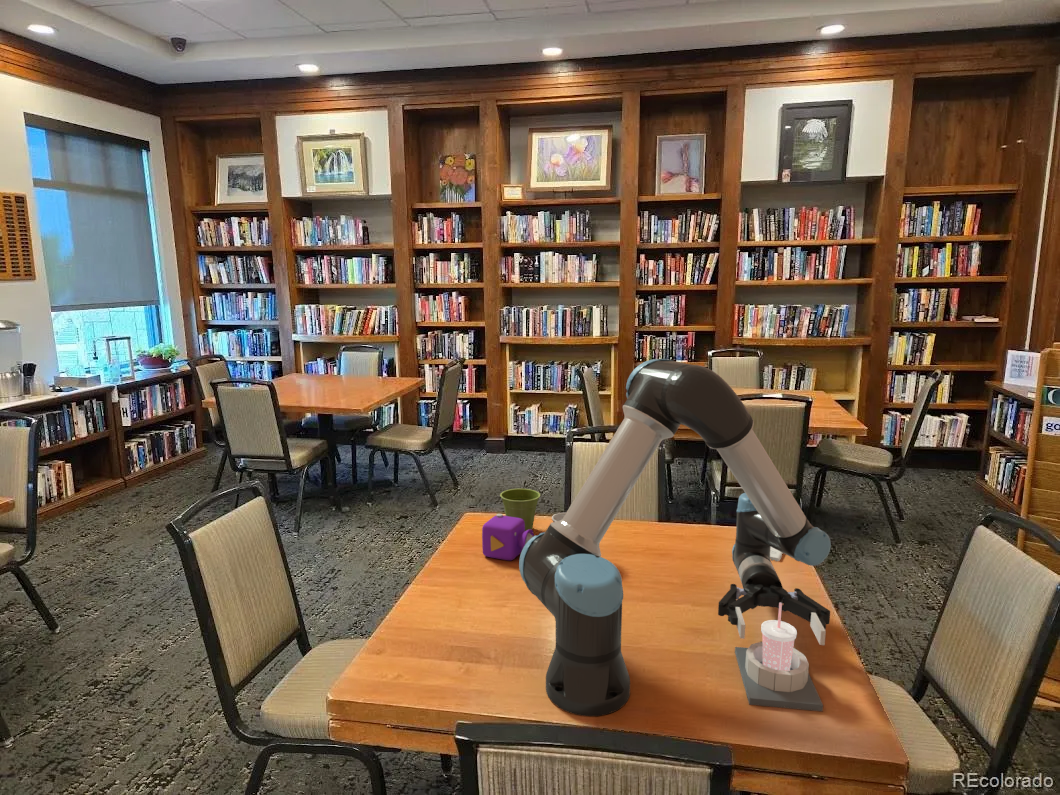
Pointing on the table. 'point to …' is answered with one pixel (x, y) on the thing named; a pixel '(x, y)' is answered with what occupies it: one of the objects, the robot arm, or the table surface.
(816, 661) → the table surface
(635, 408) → the robot arm
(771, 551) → the external hard drive
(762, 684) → the cup holder
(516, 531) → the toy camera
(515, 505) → the plant pot
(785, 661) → the beverage cup
